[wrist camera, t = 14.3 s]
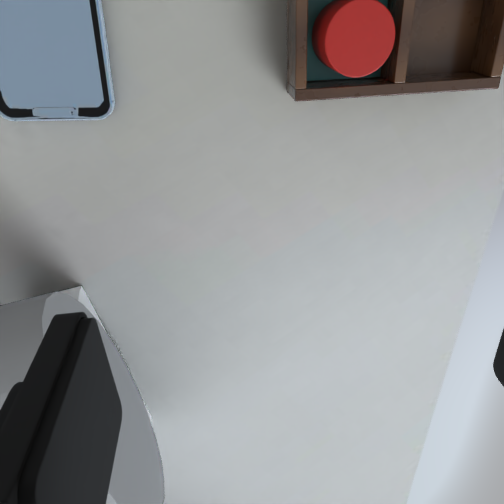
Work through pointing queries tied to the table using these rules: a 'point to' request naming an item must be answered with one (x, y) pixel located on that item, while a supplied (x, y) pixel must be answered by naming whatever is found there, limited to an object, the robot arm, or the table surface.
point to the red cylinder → (353, 36)
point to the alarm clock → (133, 407)
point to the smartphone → (54, 61)
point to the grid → (406, 51)
